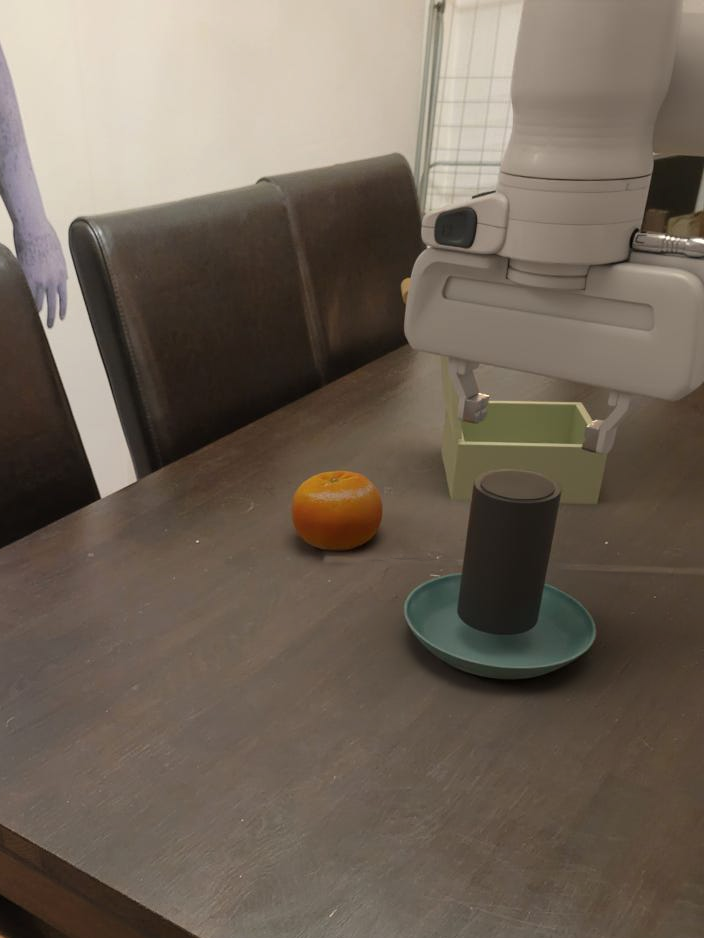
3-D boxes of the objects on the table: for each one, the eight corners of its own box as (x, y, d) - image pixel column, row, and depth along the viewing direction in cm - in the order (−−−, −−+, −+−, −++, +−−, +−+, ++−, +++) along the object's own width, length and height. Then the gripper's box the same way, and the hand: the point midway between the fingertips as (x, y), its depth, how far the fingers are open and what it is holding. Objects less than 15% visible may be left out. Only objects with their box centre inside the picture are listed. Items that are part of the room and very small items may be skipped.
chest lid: (440, 250, 99) (397, 258, 99) (451, 279, 87) (402, 287, 88) (450, 395, 106) (410, 401, 107) (462, 439, 95) (417, 445, 96)
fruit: (317, 479, 97) (327, 433, 89) (389, 522, 95) (406, 479, 88) (271, 539, 94) (278, 497, 87) (345, 584, 92) (359, 545, 85)
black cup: (526, 594, 78) (548, 467, 72) (547, 635, 73) (572, 501, 67) (450, 595, 78) (466, 468, 72) (465, 635, 73) (483, 502, 67)
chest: (570, 460, 109) (581, 402, 105) (596, 510, 97) (609, 447, 94) (440, 457, 110) (446, 399, 107) (450, 506, 99) (457, 444, 95)
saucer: (566, 718, 68) (573, 687, 67) (373, 664, 75) (375, 636, 73) (606, 622, 79) (613, 595, 78) (435, 583, 85) (438, 556, 84)
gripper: (759, 232, 56) (699, 456, 63) (449, 202, 67) (430, 395, 75) (723, 249, 52) (664, 486, 59) (400, 214, 63) (385, 416, 71)
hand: (531, 435), depth 67 cm, fingers open, 8 cm apart
